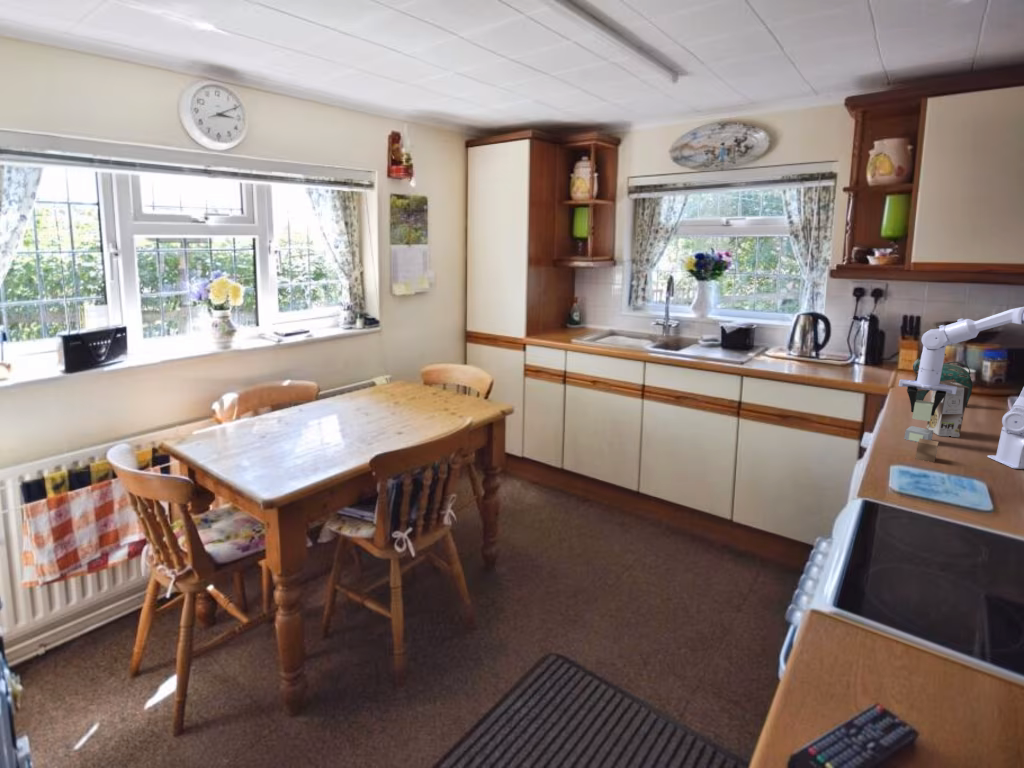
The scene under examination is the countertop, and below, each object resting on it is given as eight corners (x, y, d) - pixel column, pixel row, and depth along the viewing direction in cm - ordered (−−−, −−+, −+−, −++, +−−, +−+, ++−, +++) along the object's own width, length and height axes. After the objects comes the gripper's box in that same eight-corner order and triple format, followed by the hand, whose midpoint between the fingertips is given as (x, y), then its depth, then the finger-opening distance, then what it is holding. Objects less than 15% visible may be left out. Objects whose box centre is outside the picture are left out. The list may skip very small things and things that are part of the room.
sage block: (930, 418, 193) (933, 402, 192) (929, 421, 190) (932, 405, 189) (913, 415, 196) (916, 399, 195) (912, 418, 193) (914, 402, 191)
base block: (931, 441, 195) (933, 430, 194) (926, 445, 191) (928, 434, 190) (909, 436, 199) (911, 425, 198) (903, 440, 195) (905, 429, 194)
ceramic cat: (909, 403, 239) (918, 351, 234) (904, 399, 245) (913, 348, 240) (970, 408, 233) (981, 355, 229) (964, 404, 239) (974, 352, 235)
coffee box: (960, 437, 198) (970, 387, 195) (937, 436, 200) (946, 386, 196) (947, 429, 207) (956, 381, 203) (925, 427, 208) (934, 379, 205)
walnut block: (935, 458, 179) (938, 441, 178) (934, 462, 176) (937, 445, 174) (916, 455, 182) (919, 438, 181) (915, 459, 178) (918, 442, 177)
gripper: (900, 367, 191) (893, 411, 194) (959, 374, 182) (950, 420, 185) (903, 364, 196) (896, 406, 199) (960, 371, 188) (951, 415, 191)
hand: (922, 413), depth 193 cm, fingers closed on sage block, 4 cm apart
